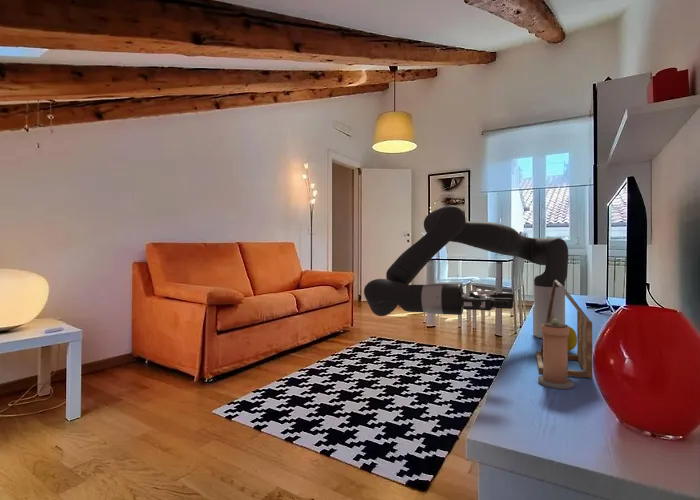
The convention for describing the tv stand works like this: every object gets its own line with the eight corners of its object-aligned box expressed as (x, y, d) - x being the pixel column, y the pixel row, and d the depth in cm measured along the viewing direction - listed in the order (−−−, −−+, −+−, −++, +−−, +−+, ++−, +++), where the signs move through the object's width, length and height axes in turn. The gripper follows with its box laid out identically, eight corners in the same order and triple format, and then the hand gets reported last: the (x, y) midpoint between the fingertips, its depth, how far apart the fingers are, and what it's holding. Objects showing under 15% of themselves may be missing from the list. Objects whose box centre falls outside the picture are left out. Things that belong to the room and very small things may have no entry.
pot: (535, 376, 87) (535, 316, 87) (558, 375, 88) (558, 316, 88) (551, 384, 82) (551, 321, 82) (575, 383, 82) (575, 320, 82)
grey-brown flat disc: (531, 378, 88) (531, 375, 88) (560, 377, 89) (560, 374, 89) (550, 390, 81) (550, 386, 81) (581, 388, 82) (581, 384, 82)
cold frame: (536, 355, 107) (535, 279, 107) (581, 359, 102) (581, 280, 102) (539, 372, 92) (538, 284, 92) (592, 378, 88) (592, 285, 88)
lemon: (556, 348, 113) (556, 322, 113) (578, 351, 110) (577, 324, 110) (553, 353, 109) (553, 325, 109) (576, 356, 106) (576, 327, 106)
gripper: (436, 287, 88) (512, 288, 82) (446, 280, 101) (513, 281, 95) (437, 319, 88) (513, 323, 82) (447, 309, 102) (514, 311, 95)
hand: (513, 300), depth 88 cm, fingers open, 8 cm apart
